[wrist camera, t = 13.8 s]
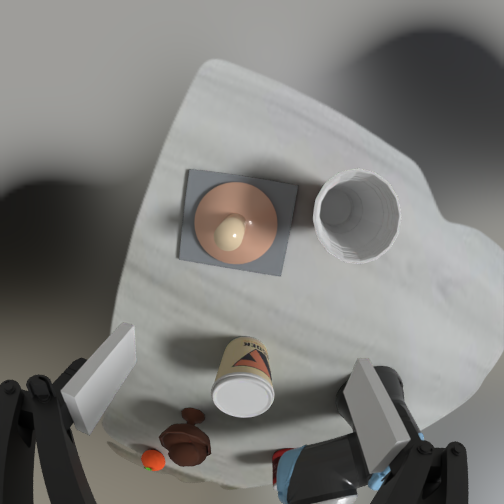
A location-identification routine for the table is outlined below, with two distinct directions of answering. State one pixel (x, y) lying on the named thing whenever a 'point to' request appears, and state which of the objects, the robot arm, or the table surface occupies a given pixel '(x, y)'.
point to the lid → (235, 223)
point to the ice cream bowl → (187, 440)
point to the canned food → (275, 461)
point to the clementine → (153, 460)
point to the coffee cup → (243, 379)
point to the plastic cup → (357, 216)
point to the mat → (275, 191)
